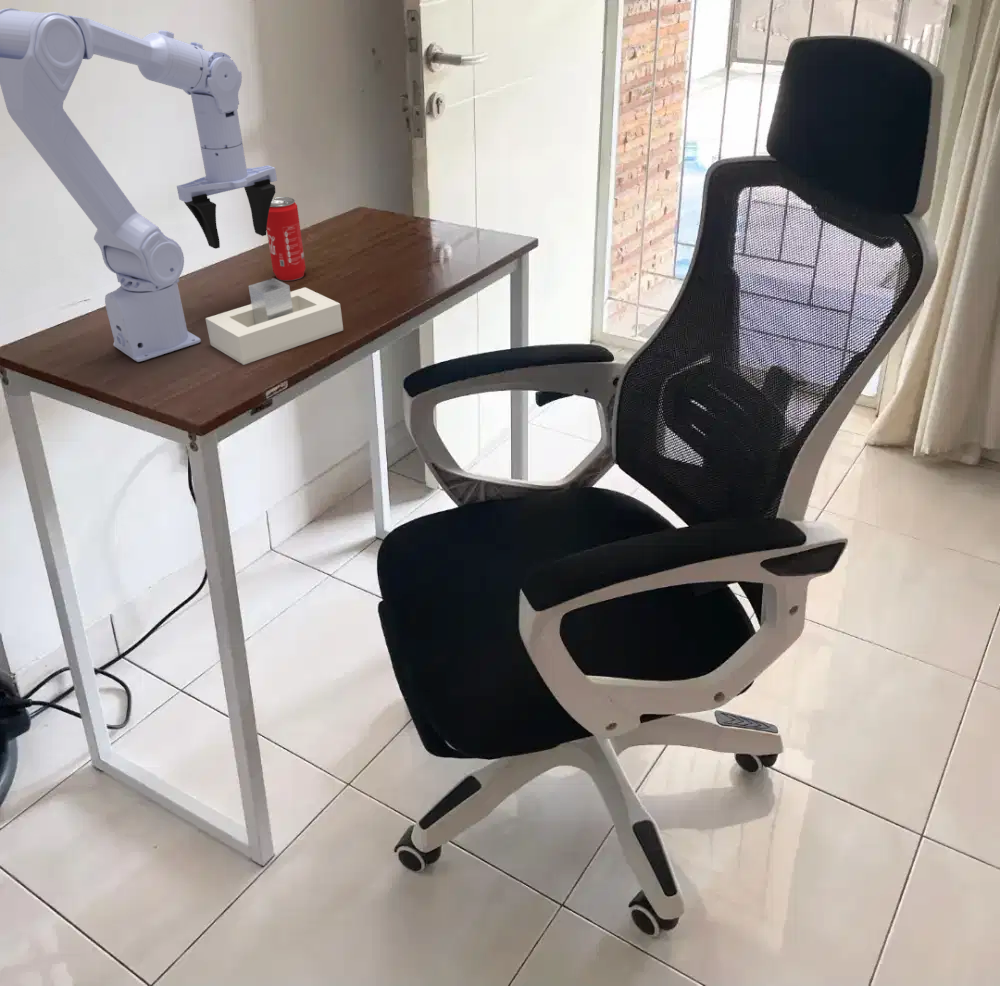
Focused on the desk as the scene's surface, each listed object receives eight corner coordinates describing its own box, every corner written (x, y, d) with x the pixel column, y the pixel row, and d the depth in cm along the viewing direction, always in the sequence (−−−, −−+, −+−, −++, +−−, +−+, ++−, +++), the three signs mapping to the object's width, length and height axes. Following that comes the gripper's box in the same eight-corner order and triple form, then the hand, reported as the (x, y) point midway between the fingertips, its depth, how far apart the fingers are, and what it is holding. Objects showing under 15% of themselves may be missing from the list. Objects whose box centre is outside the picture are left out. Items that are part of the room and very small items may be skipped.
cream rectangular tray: (243, 364, 133) (238, 337, 131) (210, 345, 139) (205, 318, 137) (343, 330, 142) (340, 303, 140) (308, 313, 148) (305, 287, 146)
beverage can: (299, 282, 159) (288, 207, 152) (268, 280, 160) (257, 205, 153) (311, 271, 163) (301, 197, 157) (281, 269, 164) (270, 196, 158)
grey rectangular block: (271, 341, 138) (263, 293, 134) (256, 333, 141) (248, 285, 137) (296, 333, 140) (289, 285, 137) (281, 325, 143) (273, 278, 139)
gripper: (187, 159, 132) (206, 259, 140) (282, 139, 140) (295, 234, 148) (162, 150, 137) (182, 247, 144) (256, 131, 145) (270, 224, 152)
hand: (238, 240), depth 146 cm, fingers open, 7 cm apart
